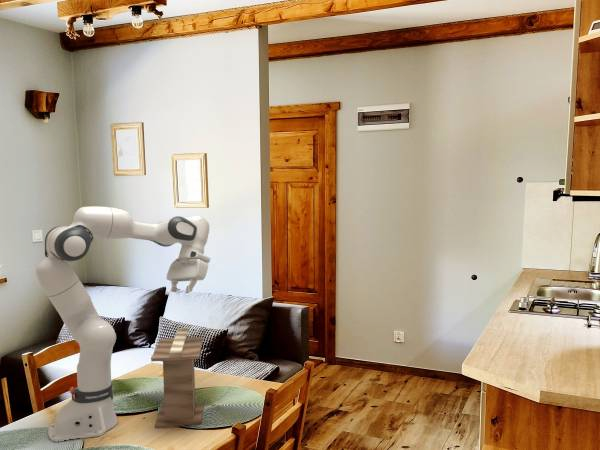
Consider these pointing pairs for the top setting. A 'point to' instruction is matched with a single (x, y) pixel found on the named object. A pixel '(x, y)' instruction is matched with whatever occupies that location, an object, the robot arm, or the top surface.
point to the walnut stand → (179, 384)
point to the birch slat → (178, 343)
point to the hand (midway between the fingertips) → (181, 291)
